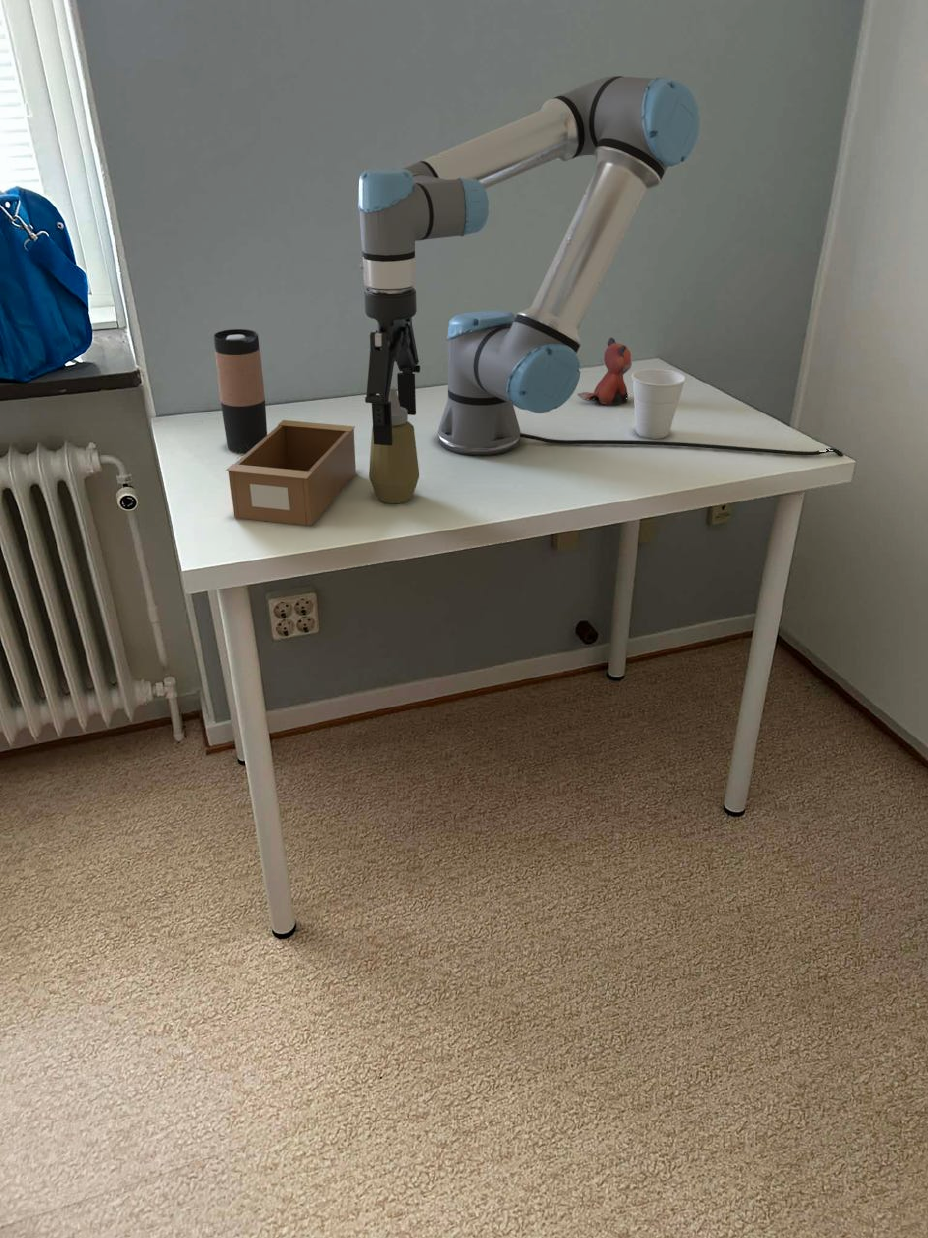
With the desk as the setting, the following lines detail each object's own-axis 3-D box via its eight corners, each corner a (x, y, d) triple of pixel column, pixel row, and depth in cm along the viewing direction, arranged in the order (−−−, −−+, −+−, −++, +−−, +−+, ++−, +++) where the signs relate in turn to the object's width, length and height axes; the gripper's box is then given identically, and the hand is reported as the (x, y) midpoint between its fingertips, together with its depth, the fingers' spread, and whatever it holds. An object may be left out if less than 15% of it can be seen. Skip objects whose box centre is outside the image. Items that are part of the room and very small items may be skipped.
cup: (620, 438, 179) (625, 380, 174) (632, 421, 187) (638, 365, 181) (672, 446, 176) (680, 387, 170) (683, 429, 184) (691, 372, 178)
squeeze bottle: (412, 509, 151) (411, 397, 142) (363, 504, 152) (358, 393, 143) (425, 489, 158) (423, 381, 149) (377, 484, 159) (373, 377, 150)
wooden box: (357, 471, 164) (355, 426, 160) (310, 528, 145) (306, 478, 141) (287, 464, 166) (283, 419, 162) (232, 519, 147) (226, 469, 143)
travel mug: (229, 438, 176) (216, 328, 166) (271, 438, 177) (260, 328, 167) (223, 454, 170) (209, 340, 160) (267, 453, 170) (256, 340, 160)
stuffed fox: (569, 398, 199) (573, 340, 193) (615, 392, 203) (621, 335, 197) (588, 409, 193) (593, 350, 187) (635, 403, 197) (641, 344, 191)
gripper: (389, 268, 149) (394, 400, 160) (336, 307, 129) (347, 455, 140) (436, 270, 148) (438, 403, 159) (390, 310, 127) (397, 460, 138)
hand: (395, 428), depth 149 cm, fingers open, 13 cm apart
